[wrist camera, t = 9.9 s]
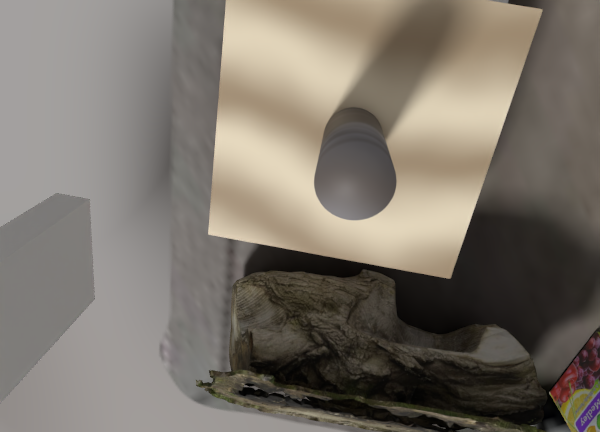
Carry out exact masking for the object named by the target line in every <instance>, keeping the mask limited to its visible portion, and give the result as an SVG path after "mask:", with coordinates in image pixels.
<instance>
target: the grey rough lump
mask: <svg viewBox="0 0 600 432" xmlns="http://www.w3.org/2000/svg"><path fill="white" fill-rule="evenodd" d="M229 359H230V366H231V371H230V372H218V371H213V370H211V371H210V370H209V373H210V377H212V378H213V382H212V383H209V382H208V383H203V382H202V380H199V381H197V380H196V386H198V387H201V388H205V391H209V393H210V394H212V395H213V396H215V397H217V398H220V399H224V400H226V401H228V402H230V403H234V404H237V405H241V406H244V407H246V408H255V409H257V410H259V411H262V412H267V413H273V414H276V413H281V414H286V415H291V416H298V417H304V418H307V419H309V420H314V421H323V422H329V423H335V424H340V425H348V426H353V427H357V428H363V429H367V430H372V431H382V432H457V431H456V430H461V429H465V428H470V429H473V430H474V429H477V430H479V431H482V432H546V431H543V430H540V429H536V427H534V426H530V425H535V424H538V423H539V422H541V421H542V419H543V417H544V411H543V406H544V405H545V403H546V401H547V394H546V391H545V390H544V389H542V388H541V386H540V383H539V382H538V380H537V374H536V369H535V366H534V362H533V359H531V358H530V354H529V353H528V352H527V351H526V350H525V349H524V347H523V346H522V345H521V344H520V343H519V342H518V341H517V340H516V339H515V338H514V337H513V336H512V335H511V334H510V333H509V332H508V331H507V330H505V329H503V328H500V327H499V326H497V325H496V324H490V325H478V324H473V325H469V326H466V327H464V328H461V329H458V330H455V331H453V332H450V333H447V334H434V333H431V332H427V331H424V330H421V329H418V328H416V327H413V326H410V325H407V324H406V323H404V322H403V321H402V320H401V319H399V318H398V317H397V309H396V290H395V282H394V280H393V279H391V278H389V277H387V276H385V275H383V274H381V273H378V272H373V271H369V270H364V269H363V270H362V271H361V273H360V275H357V276H354V277H348V278H339V277H335V276H323V275H317V274H311V273H305V272H282V271H267V272H255V273H253V274H250V275H248V276H246V277H244V278H242V279H239V280H237V281H236V282H235V283H234V285H233V288H232V304H231V332H230V345H229ZM244 385H247V386H256V387H258V388H260V389H258V390H254V389H253V388H249V387H243V386H244ZM261 389H263V390H264V391H263V390H261ZM278 391H283V392H284V393H285V396H286V395H289V396H287V397H284V395H282V394H278V393H273V392H278ZM269 393H272V394H269ZM305 397H307V398H308V399H309V400H310V401H309V400H307V399H303V398H305ZM297 399H302V401H301V402H300V401H298V400H297ZM432 424H437V425H438V426H440V427H445V428H446V429H443V428H439V427H437V426H434V425H432Z"/></svg>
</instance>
